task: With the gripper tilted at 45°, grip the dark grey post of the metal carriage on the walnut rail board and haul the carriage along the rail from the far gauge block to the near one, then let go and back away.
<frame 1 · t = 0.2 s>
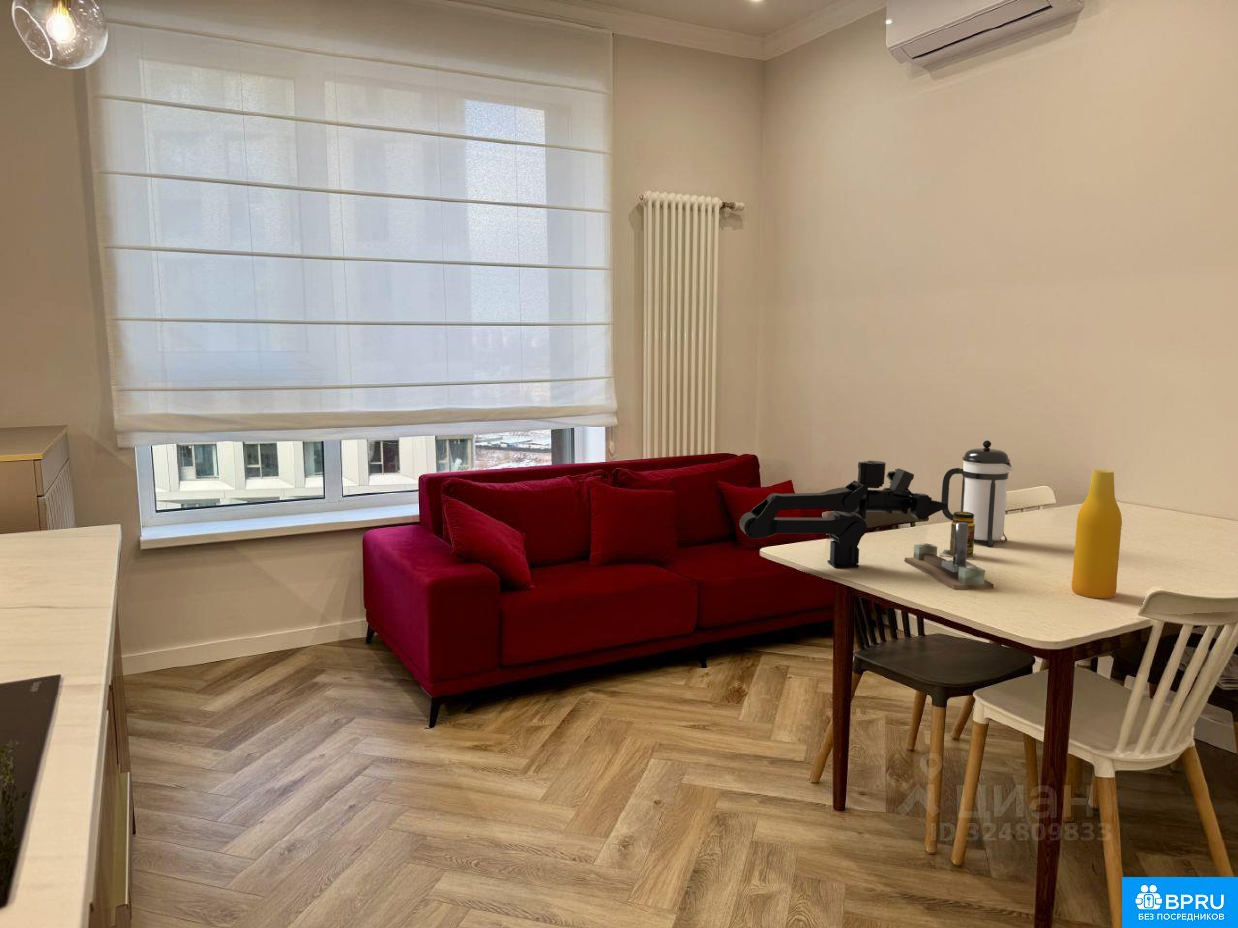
hand: (939, 502, 230), 16 cm above the table, tool horizontal, fingers open, 9 cm apart
condiment: (957, 555, 243), on the table
carriage: (960, 546, 215), point 9 cm above the table, slide at 0.0 cm
coffee press: (975, 541, 260), on the table
beer bottle: (1093, 594, 206), on the table
rail board: (946, 573, 222), on the table
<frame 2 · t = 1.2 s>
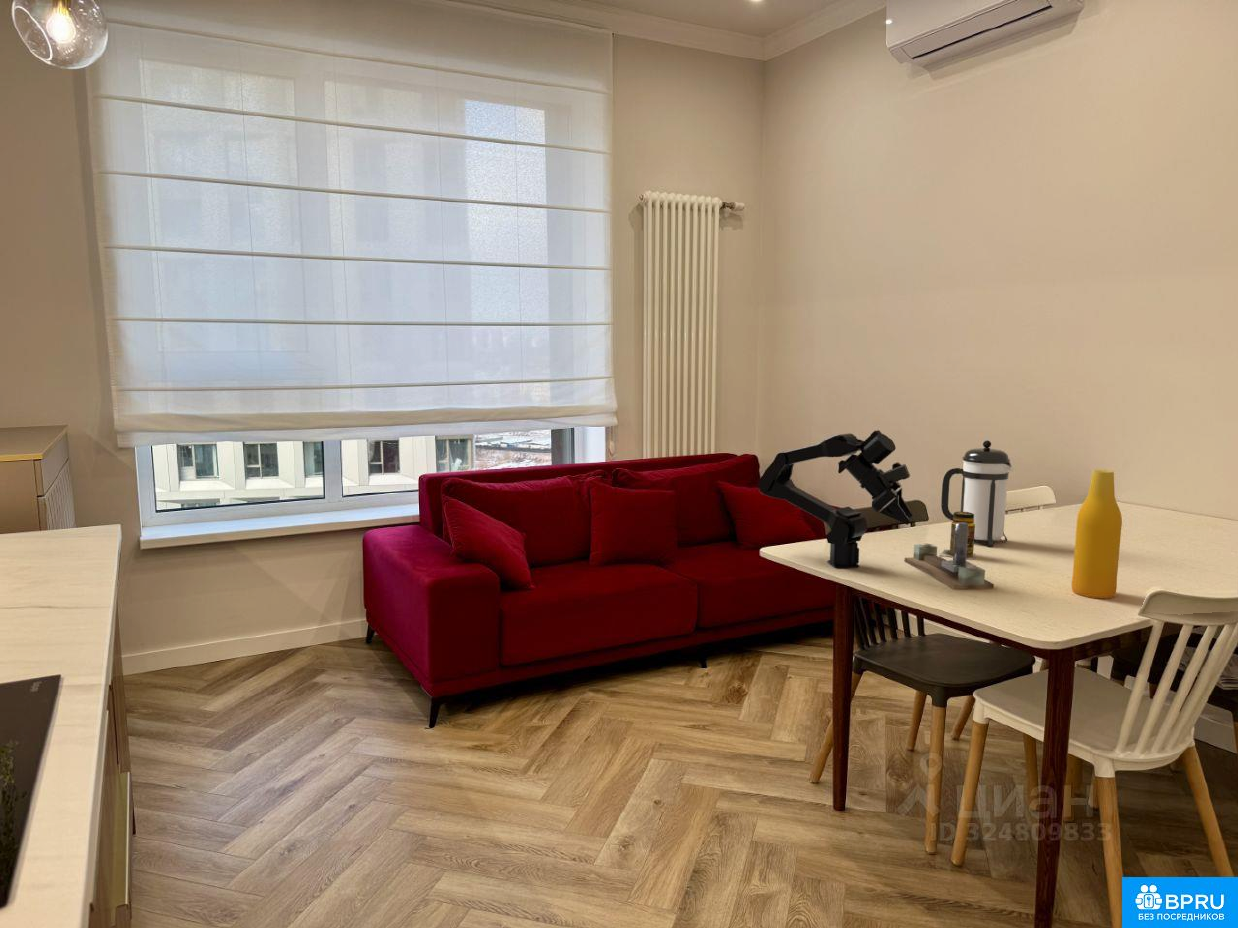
hand: (910, 520, 221), 14 cm above the table, tool tilted 45°, fingers open, 9 cm apart
nothing on the table moved.
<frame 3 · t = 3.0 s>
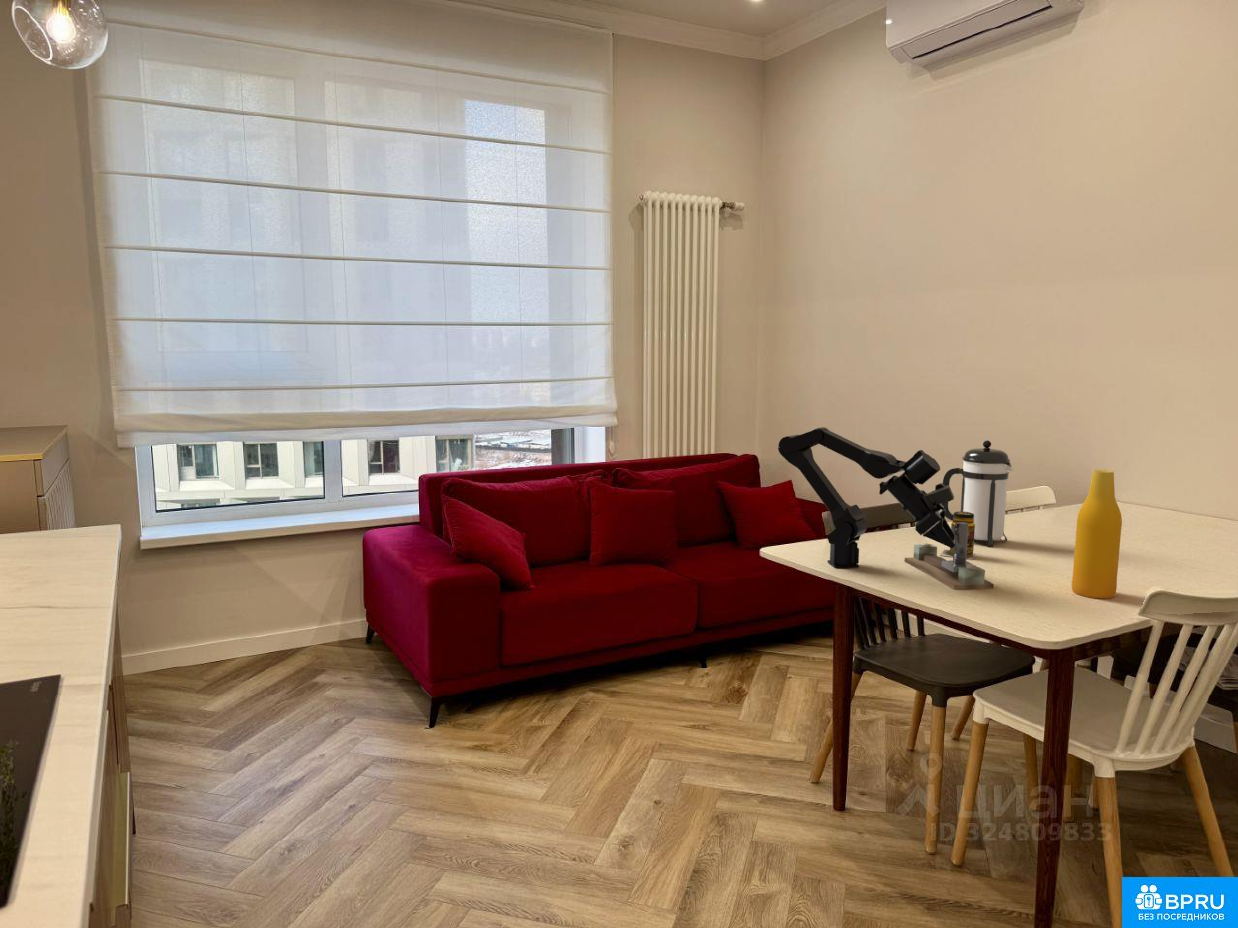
hand: (954, 542, 216), 9 cm above the table, tool tilted 45°, fingers open, 9 cm apart
nothing on the table moved.
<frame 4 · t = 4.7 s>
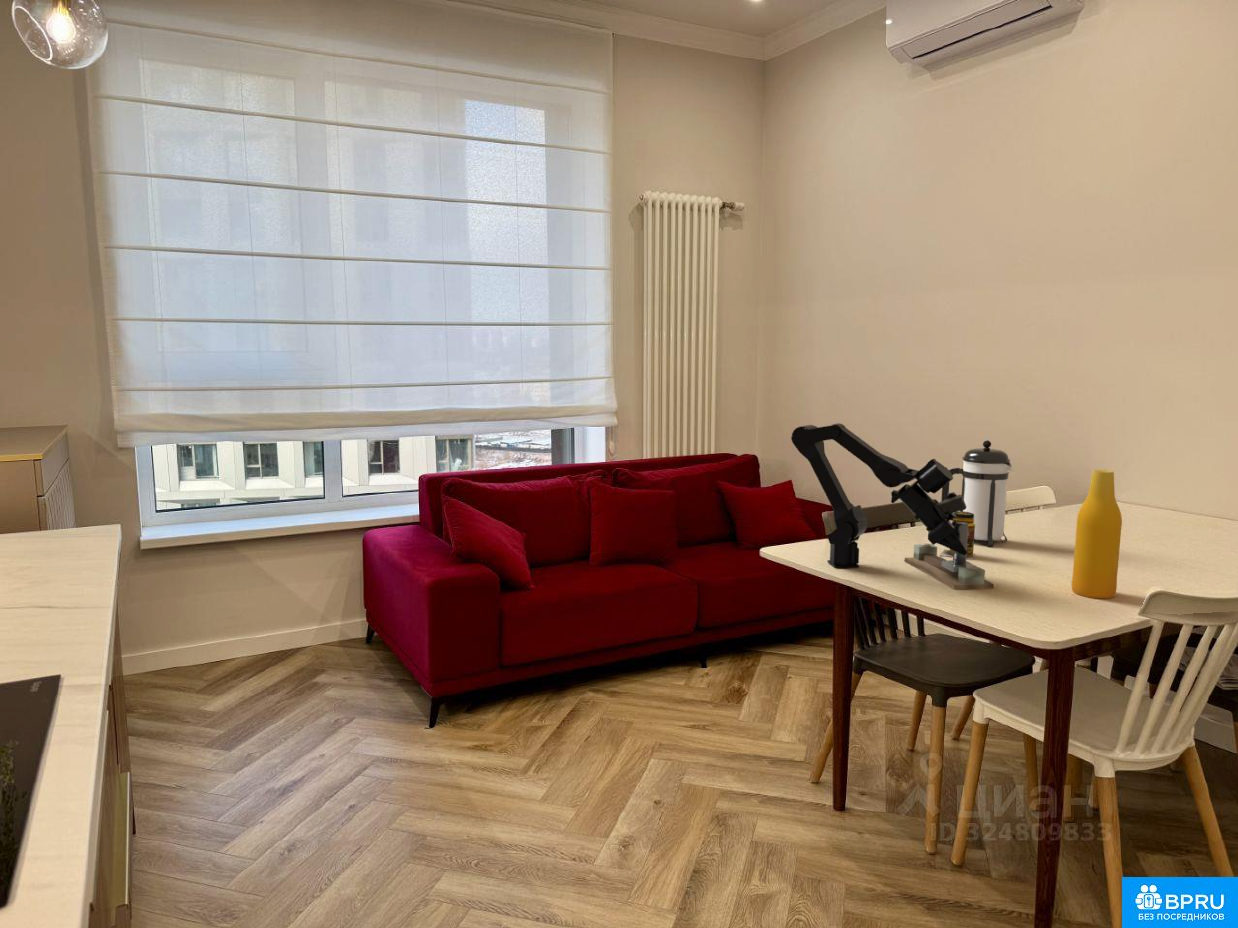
hand: (966, 552, 215), 7 cm above the table, tool tilted 45°, fingers closed on carriage, 3 cm apart
carriage: (960, 546, 215), point 9 cm above the table, slide at 0.0 cm, touching gripper
everything else where it was.
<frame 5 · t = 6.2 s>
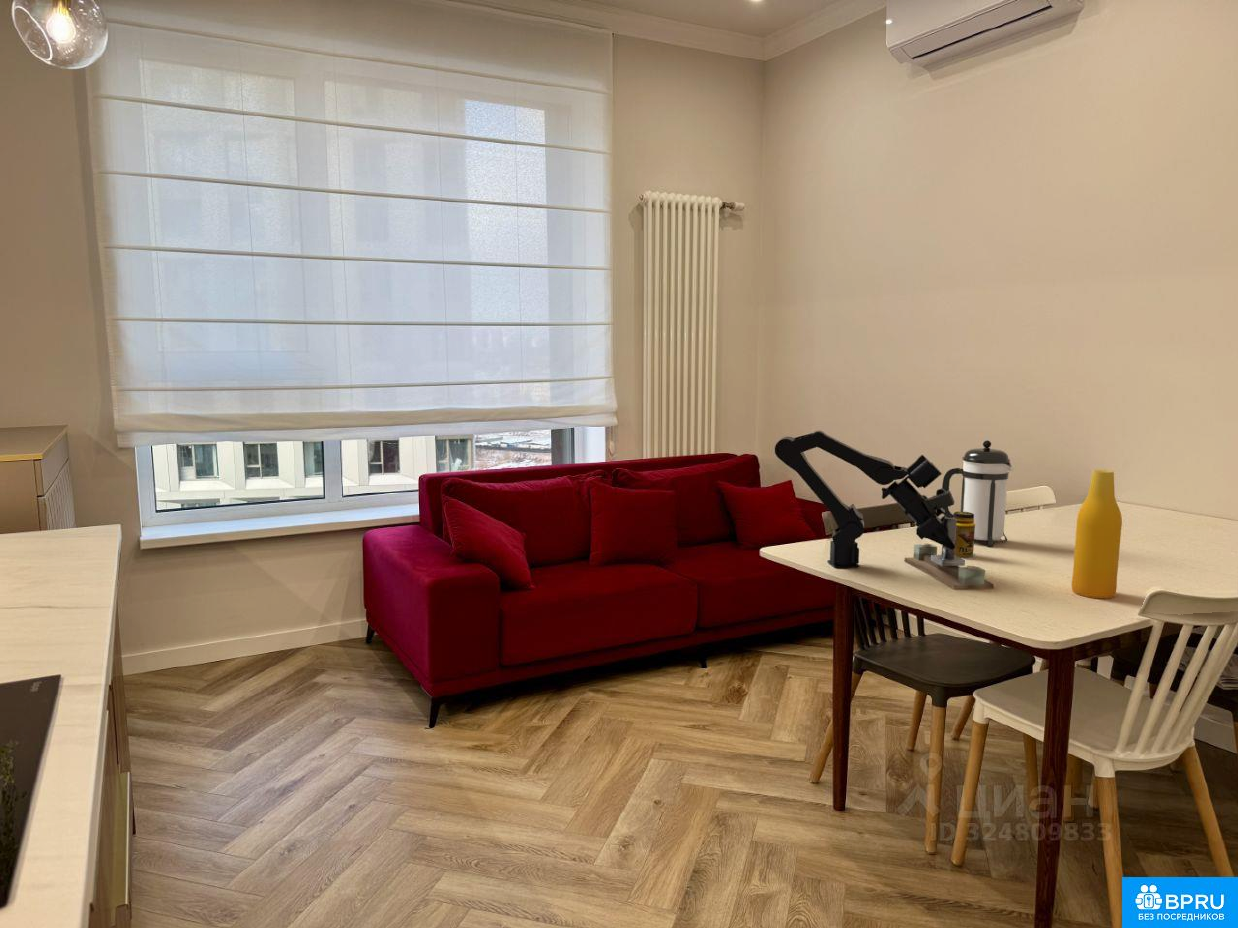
hand: (954, 546, 221), 7 cm above the table, tool tilted 45°, fingers closed on carriage, 3 cm apart
carriage: (948, 540, 221), point 9 cm above the table, slide at 5.8 cm, touching gripper
everything else where it was.
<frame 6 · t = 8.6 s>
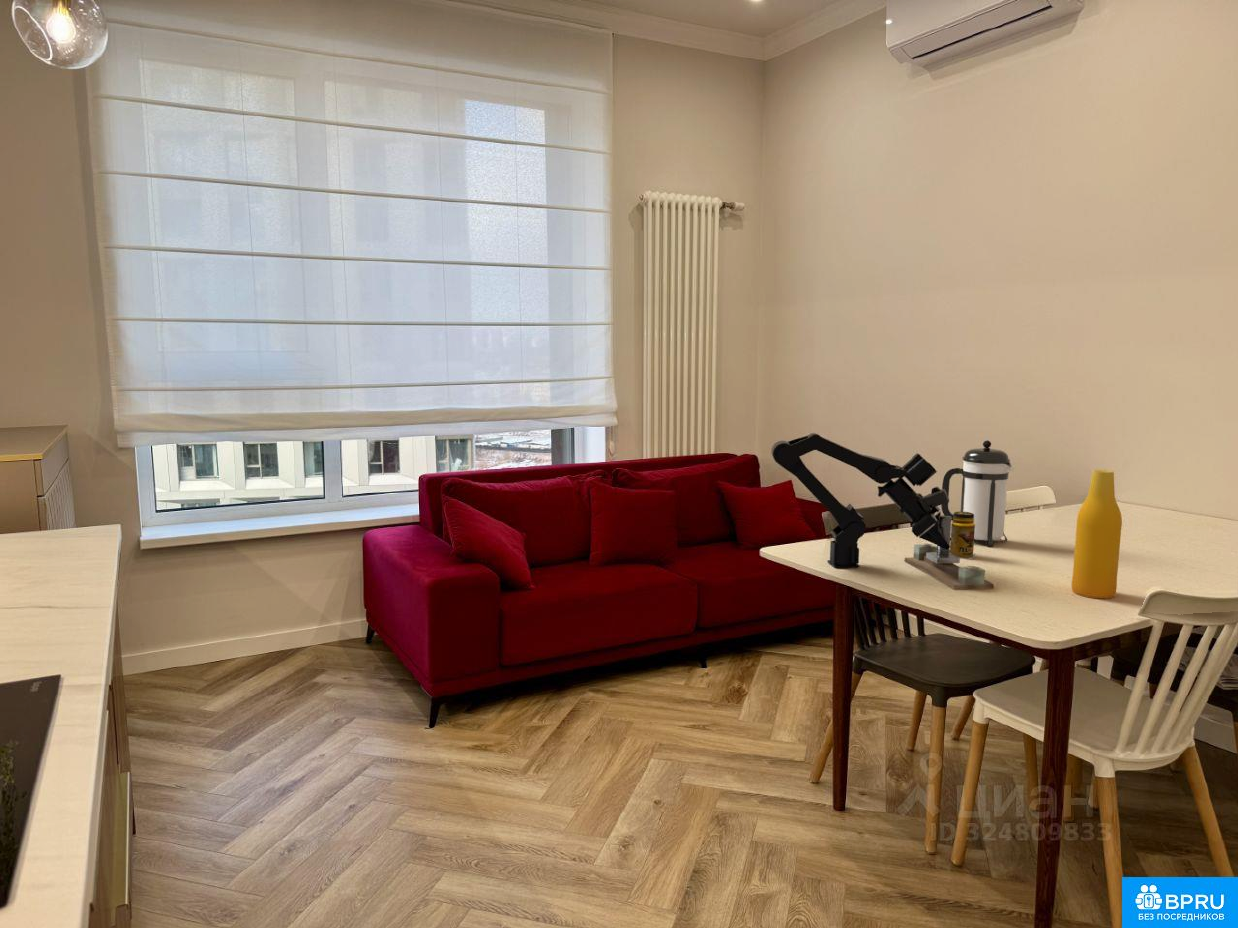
hand: (949, 544, 223), 7 cm above the table, tool tilted 45°, fingers open, 9 cm apart
carriage: (943, 538, 224), point 9 cm above the table, slide at 8.4 cm
everything else where it was.
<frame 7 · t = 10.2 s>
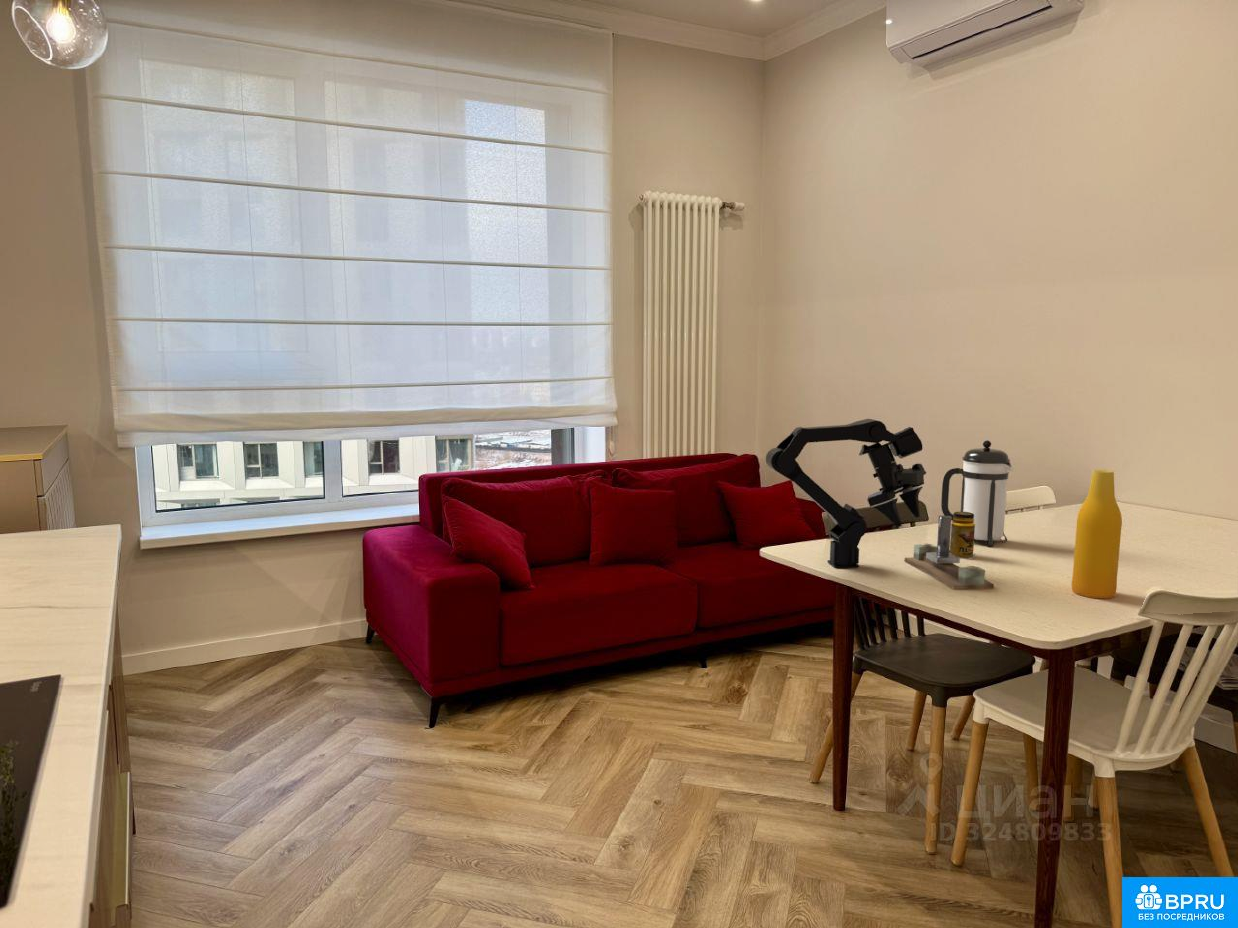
hand: (909, 521, 225), 12 cm above the table, tool tilted 25°, fingers open, 9 cm apart
nothing on the table moved.
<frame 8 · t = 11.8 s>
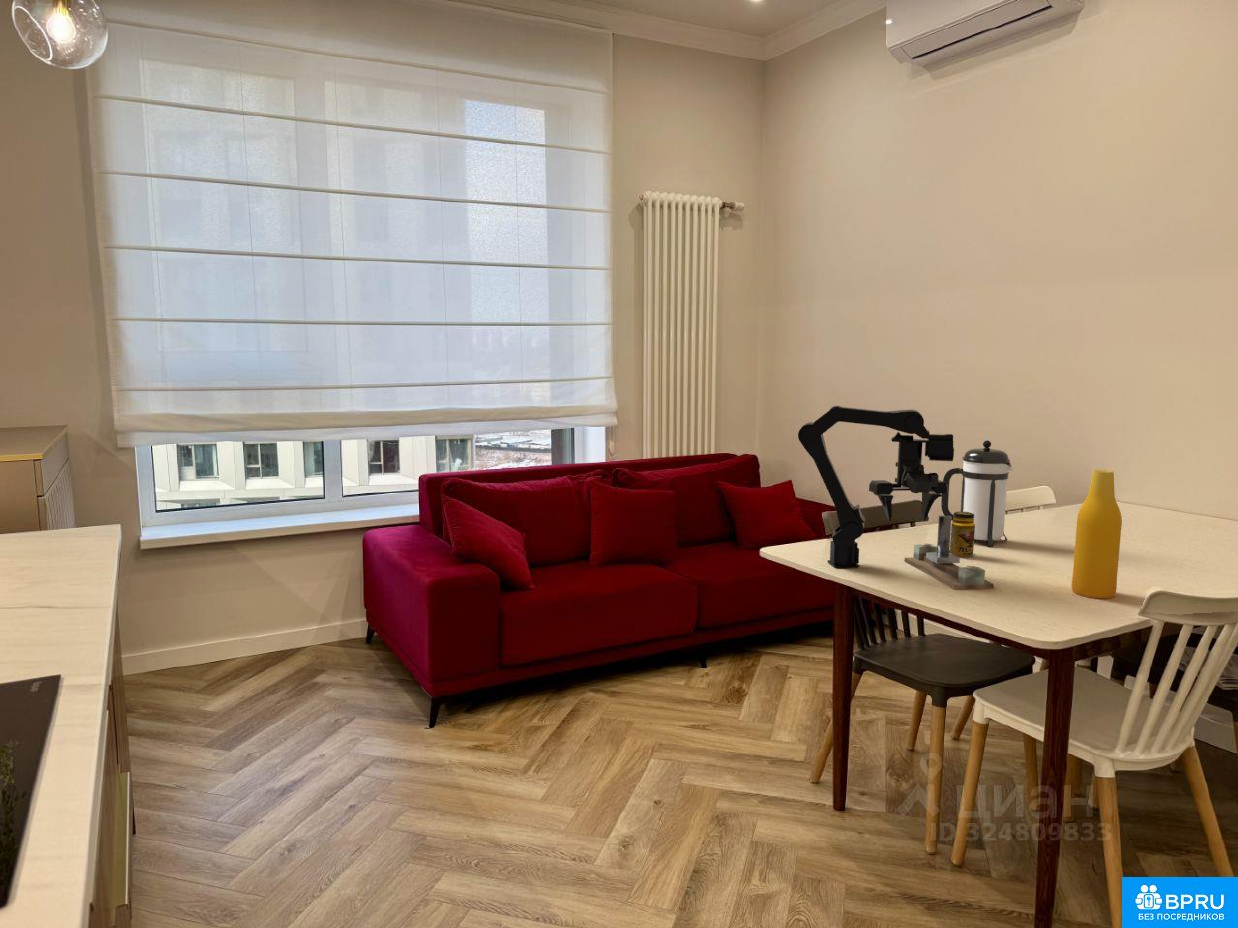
hand: (906, 520, 224), 13 cm above the table, tool pointing down, fingers open, 9 cm apart
nothing on the table moved.
at the end: carriage slide at 8.4 cm; the gripper is holding nothing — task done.
